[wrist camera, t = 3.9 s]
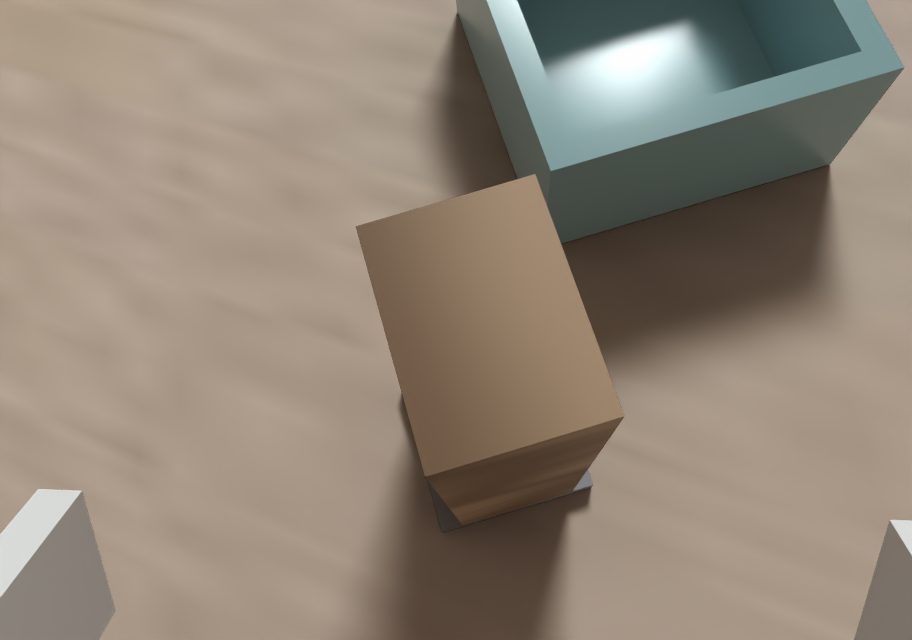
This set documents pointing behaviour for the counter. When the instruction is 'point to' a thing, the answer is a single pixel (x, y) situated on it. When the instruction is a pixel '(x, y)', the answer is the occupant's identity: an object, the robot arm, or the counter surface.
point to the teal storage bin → (672, 96)
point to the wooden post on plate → (491, 350)
